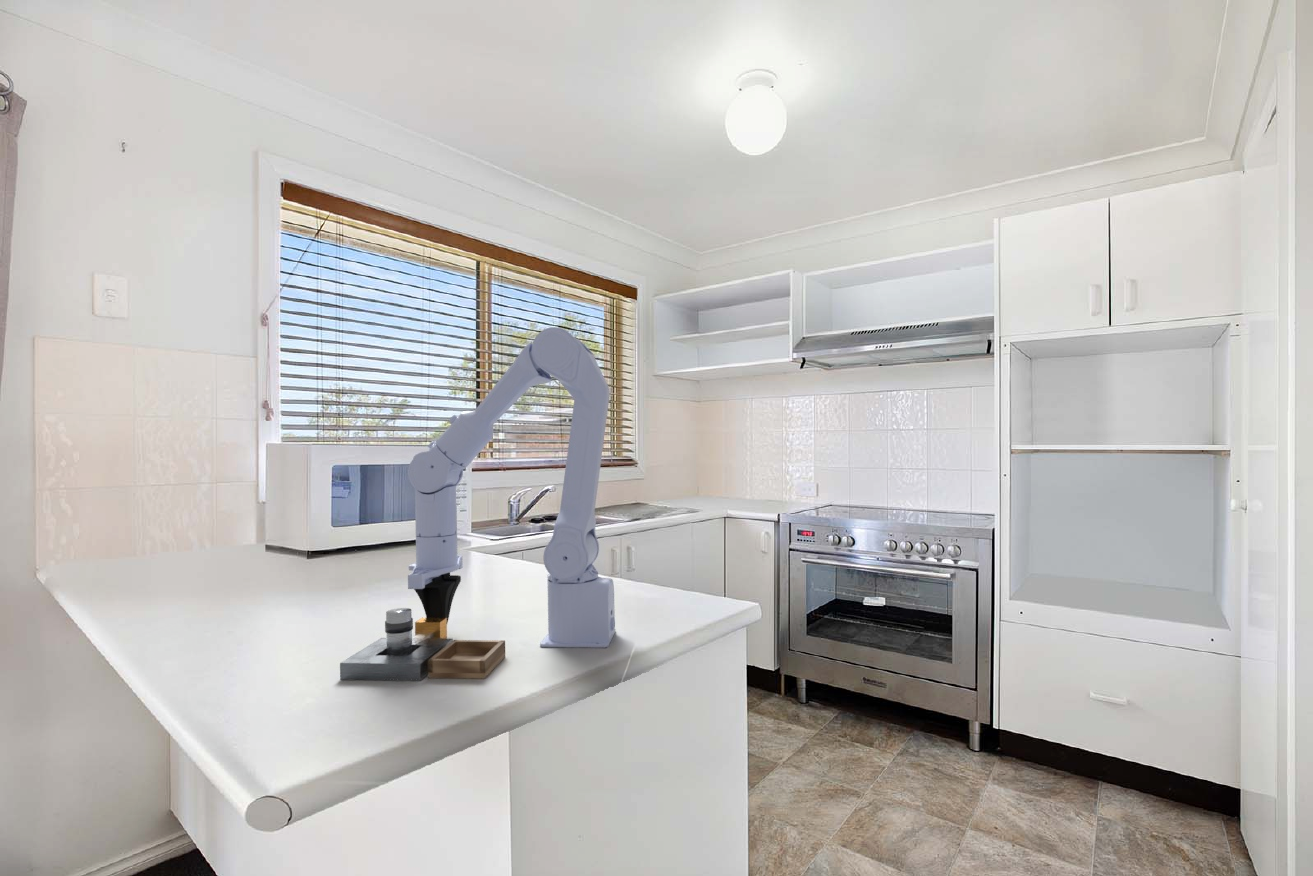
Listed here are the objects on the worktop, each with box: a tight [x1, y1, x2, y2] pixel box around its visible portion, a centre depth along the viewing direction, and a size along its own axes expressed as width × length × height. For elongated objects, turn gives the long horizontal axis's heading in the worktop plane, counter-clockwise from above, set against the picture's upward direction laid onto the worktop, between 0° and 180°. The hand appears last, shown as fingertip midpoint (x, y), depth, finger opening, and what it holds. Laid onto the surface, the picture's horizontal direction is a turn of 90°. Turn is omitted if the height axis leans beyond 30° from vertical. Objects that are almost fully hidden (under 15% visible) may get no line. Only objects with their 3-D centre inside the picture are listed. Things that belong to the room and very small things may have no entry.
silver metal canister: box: [384, 607, 414, 656], centre depth 84 cm, size 3×3×7 cm
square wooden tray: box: [427, 639, 506, 679], centre depth 83 cm, size 7×8×2 cm
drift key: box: [412, 617, 448, 652], centre depth 91 cm, size 8×4×3 cm, turn 175°
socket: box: [339, 637, 454, 682], centre depth 84 cm, size 10×10×2 cm
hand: (438, 628), depth 96 cm, fingers closed
